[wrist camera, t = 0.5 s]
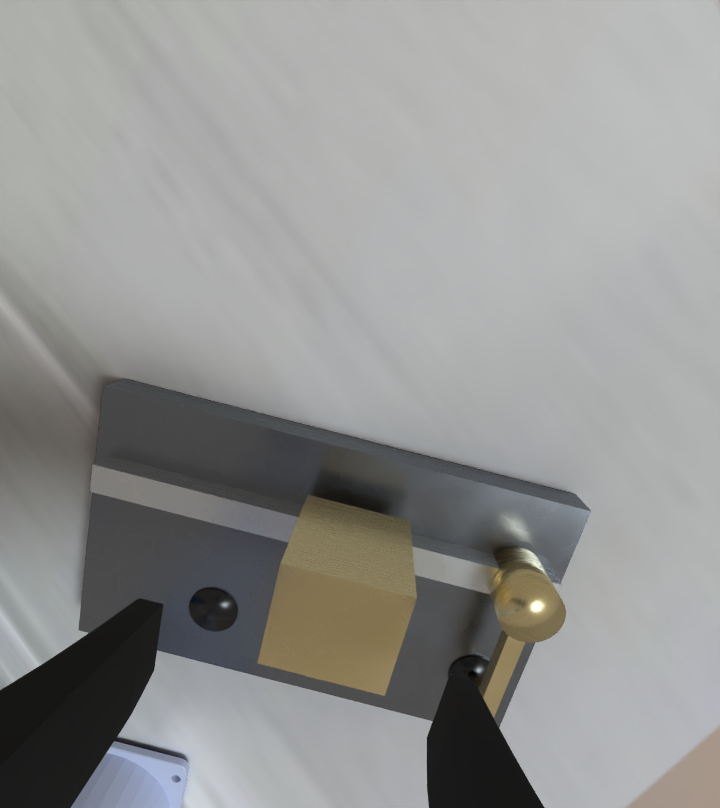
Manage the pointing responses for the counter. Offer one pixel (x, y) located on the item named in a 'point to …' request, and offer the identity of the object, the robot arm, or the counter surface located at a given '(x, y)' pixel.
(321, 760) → the counter surface
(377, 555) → the leg
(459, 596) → the bolt plate
